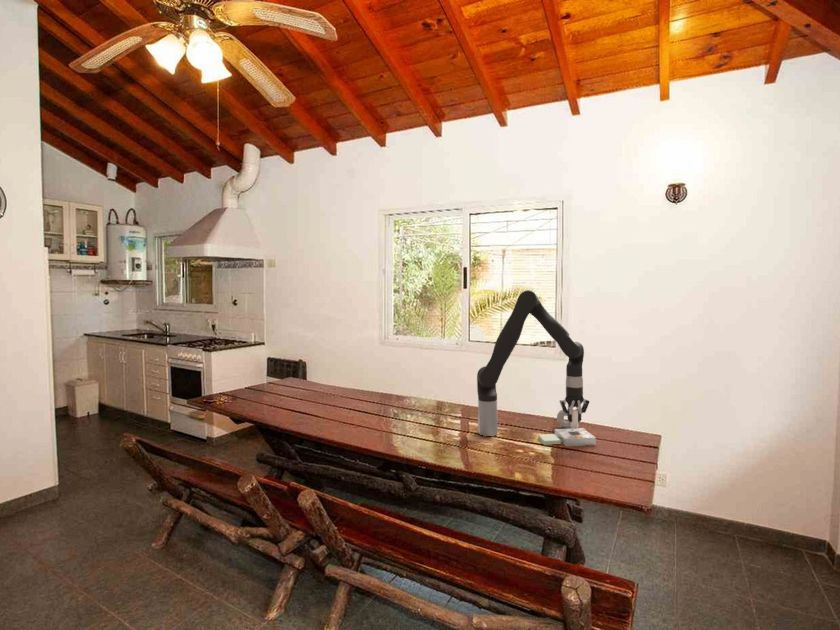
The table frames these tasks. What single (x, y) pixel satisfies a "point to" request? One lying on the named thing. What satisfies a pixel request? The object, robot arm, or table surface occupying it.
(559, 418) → the donut
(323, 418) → the table surface
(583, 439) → the flange
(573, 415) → the peg
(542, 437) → the square base plate
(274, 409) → the table surface
